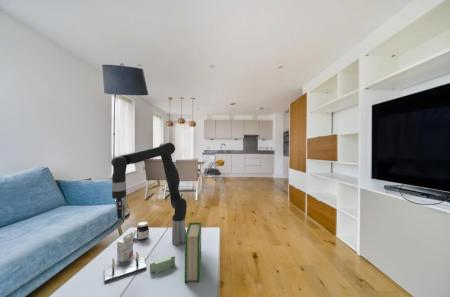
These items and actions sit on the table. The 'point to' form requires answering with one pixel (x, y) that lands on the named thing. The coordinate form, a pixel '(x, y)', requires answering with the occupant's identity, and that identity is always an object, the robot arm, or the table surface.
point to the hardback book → (193, 252)
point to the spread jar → (142, 231)
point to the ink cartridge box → (125, 247)
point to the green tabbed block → (162, 264)
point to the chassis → (124, 268)
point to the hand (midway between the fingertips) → (119, 216)
